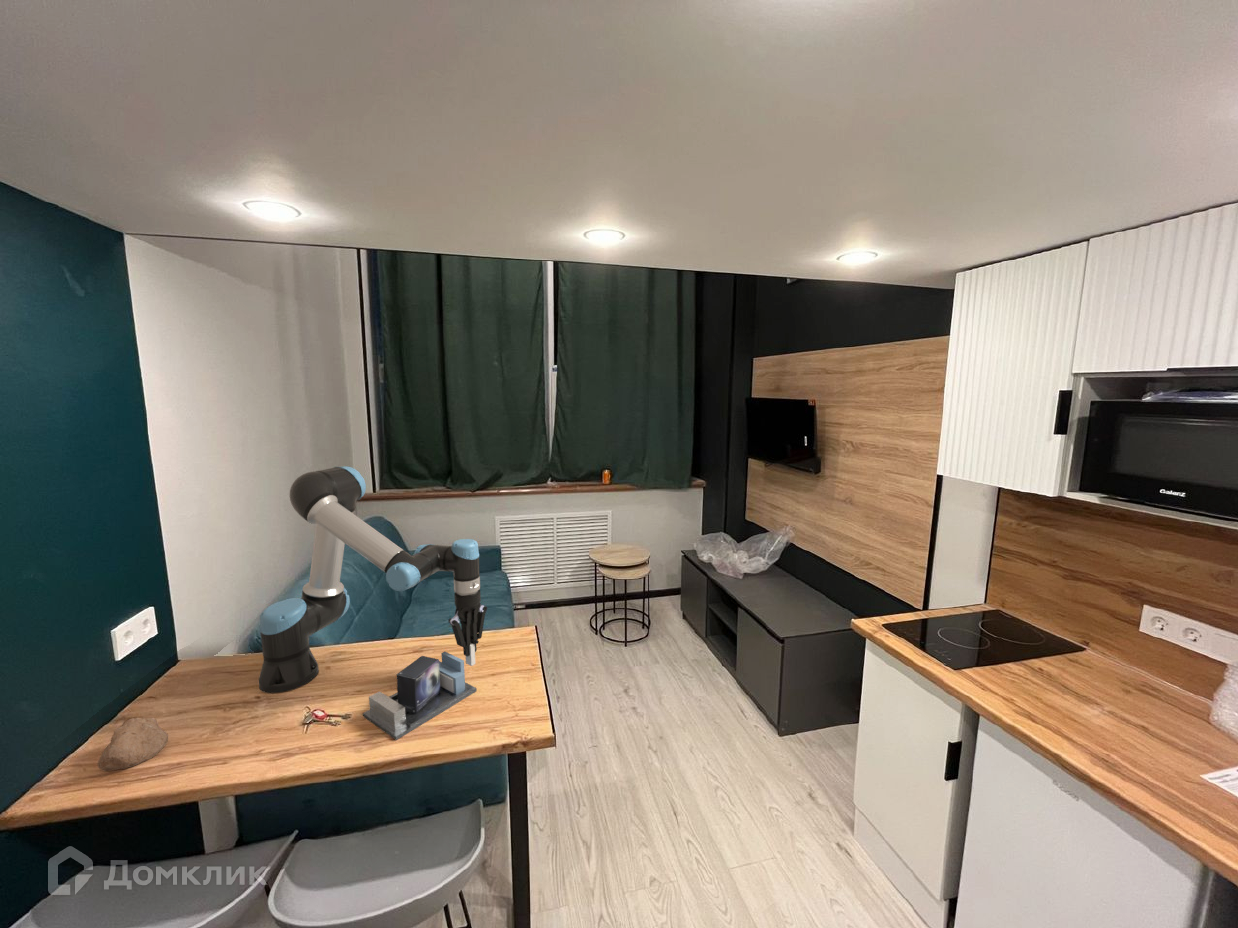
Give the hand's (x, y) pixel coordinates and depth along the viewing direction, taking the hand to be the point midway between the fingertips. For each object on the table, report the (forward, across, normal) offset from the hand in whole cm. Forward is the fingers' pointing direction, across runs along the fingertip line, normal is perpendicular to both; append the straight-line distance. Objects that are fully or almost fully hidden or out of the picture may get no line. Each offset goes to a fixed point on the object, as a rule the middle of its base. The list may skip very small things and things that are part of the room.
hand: (470, 663), depth 151 cm
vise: (+4, -18, 0) cm, 18 cm away
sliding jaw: (+3, -8, 0) cm, 9 cm away
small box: (+3, -18, 0) cm, 18 cm away
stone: (+4, -68, +38) cm, 78 cm away
